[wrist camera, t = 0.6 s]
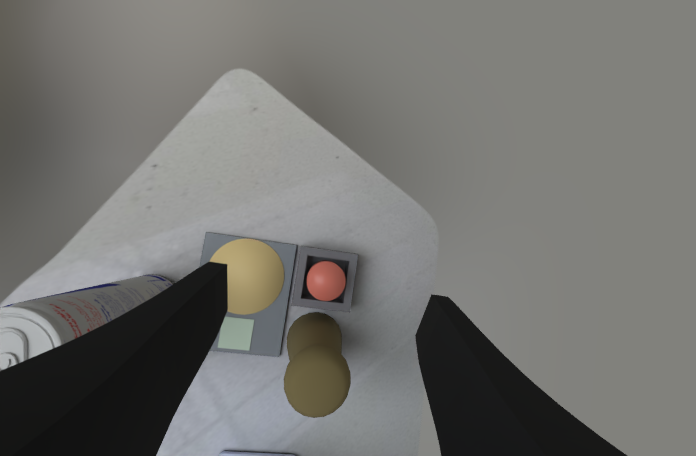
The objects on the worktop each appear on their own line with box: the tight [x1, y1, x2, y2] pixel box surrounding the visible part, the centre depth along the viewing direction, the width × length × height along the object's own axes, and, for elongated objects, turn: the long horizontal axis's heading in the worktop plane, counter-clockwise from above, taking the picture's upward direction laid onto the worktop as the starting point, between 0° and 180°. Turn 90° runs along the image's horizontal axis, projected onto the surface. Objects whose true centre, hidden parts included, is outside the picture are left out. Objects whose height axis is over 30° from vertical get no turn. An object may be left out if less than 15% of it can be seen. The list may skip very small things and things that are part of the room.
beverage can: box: [0, 275, 173, 371], centre depth 23 cm, size 6×6×15 cm
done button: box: [307, 260, 346, 301], centre depth 30 cm, size 4×4×2 cm
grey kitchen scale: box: [200, 232, 297, 357], centre depth 31 cm, size 12×10×1 cm
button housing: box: [292, 246, 358, 312], centre depth 31 cm, size 6×6×3 cm
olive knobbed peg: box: [284, 312, 351, 418], centre depth 27 cm, size 6×6×11 cm
